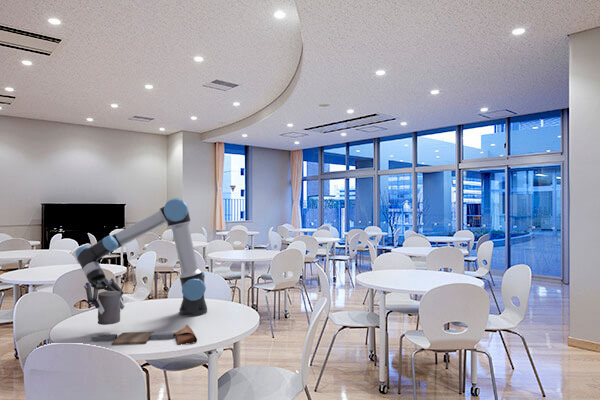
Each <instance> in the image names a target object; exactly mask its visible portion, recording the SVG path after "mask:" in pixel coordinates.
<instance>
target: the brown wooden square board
mask: <svg viewBox="0 0 600 400" xmlns="http://www.w3.org/2000/svg"><path fill="white" fill-rule="evenodd" d="M151 333H155V332H154V331H132V332H131V331H130V332H128V331H127V332H121V333H120V334H119V335H117V338H116V339H115V340H114V341H111V346H114V345H115V346H120V345H145V344H147V343H148V341H149V340H150V335H151Z"/></svg>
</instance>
